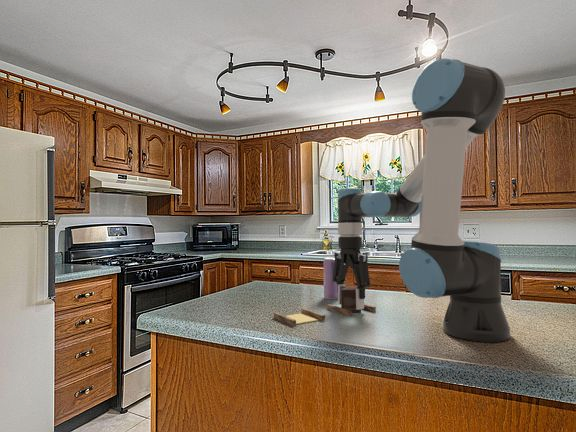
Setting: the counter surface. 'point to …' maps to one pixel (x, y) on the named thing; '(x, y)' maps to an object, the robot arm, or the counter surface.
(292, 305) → the counter surface
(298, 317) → the pad
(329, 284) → the beverage can
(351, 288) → the box
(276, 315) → the notch rack
